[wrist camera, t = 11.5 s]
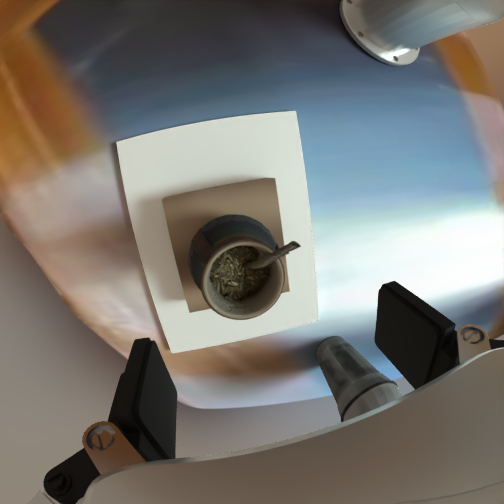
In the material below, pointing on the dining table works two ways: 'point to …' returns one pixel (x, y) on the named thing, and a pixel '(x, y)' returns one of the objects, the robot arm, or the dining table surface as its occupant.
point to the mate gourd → (238, 266)
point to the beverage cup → (353, 379)
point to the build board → (209, 175)
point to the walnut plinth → (210, 207)
